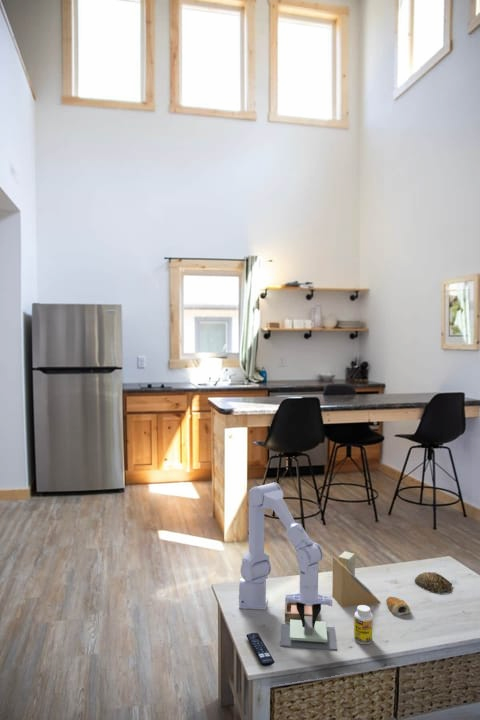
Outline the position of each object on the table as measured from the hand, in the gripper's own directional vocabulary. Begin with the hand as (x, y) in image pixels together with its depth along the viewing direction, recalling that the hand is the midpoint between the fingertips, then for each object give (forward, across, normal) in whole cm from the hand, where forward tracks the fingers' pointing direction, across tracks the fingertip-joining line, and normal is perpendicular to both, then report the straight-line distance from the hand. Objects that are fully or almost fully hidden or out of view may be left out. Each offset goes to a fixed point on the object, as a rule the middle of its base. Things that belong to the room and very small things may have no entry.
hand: (308, 625), depth 167 cm
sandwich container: (+4, +18, +26) cm, 32 cm away
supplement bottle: (+4, +17, 0) cm, 17 cm away
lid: (+2, 0, 0) cm, 3 cm away
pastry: (+4, +31, +21) cm, 37 cm away
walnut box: (+4, -2, +12) cm, 13 cm away
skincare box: (+4, +15, +36) cm, 39 cm away
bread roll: (+4, +48, +41) cm, 63 cm away
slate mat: (+4, 0, 0) cm, 4 cm away
